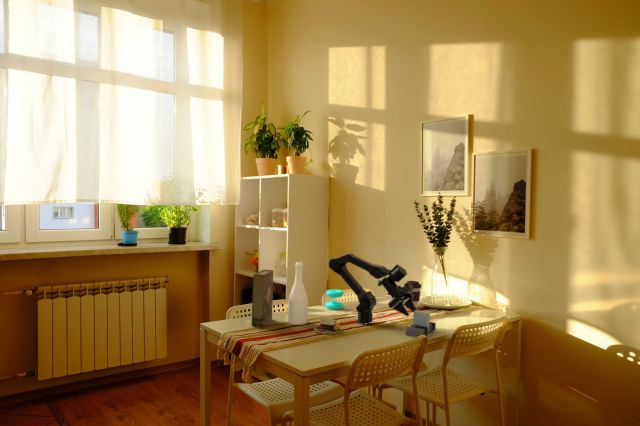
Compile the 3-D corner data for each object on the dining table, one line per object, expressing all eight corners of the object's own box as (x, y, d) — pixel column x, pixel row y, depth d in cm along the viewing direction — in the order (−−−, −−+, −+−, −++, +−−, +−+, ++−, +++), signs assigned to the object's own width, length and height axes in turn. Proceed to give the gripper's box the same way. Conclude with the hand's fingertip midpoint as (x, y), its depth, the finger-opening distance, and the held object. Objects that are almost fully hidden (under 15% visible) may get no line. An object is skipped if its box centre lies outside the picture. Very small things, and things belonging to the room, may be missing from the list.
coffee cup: (415, 309, 290) (416, 283, 290) (400, 307, 296) (401, 281, 296) (423, 307, 298) (424, 281, 298) (408, 304, 304) (409, 279, 304)
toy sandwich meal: (310, 333, 234) (310, 323, 234) (319, 326, 247) (319, 317, 247) (336, 336, 231) (337, 326, 230) (344, 329, 243) (344, 319, 243)
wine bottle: (304, 326, 247) (306, 264, 246) (285, 324, 248) (287, 263, 248) (308, 321, 256) (310, 262, 255) (290, 320, 258) (292, 261, 257)
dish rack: (405, 335, 236) (405, 326, 236) (418, 327, 249) (418, 319, 249) (423, 338, 231) (424, 329, 231) (436, 331, 245) (436, 322, 245)
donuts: (345, 289, 291) (341, 292, 282) (345, 307, 292) (340, 310, 282) (328, 288, 294) (324, 291, 285) (328, 305, 294) (323, 309, 285)
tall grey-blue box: (412, 330, 241) (413, 311, 240) (415, 329, 243) (416, 310, 243) (427, 332, 237) (427, 313, 237) (429, 331, 240) (430, 312, 239)
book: (262, 318, 259) (263, 269, 259) (272, 319, 258) (274, 270, 257) (251, 326, 243) (253, 274, 242) (262, 327, 242) (264, 274, 241)
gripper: (395, 280, 237) (416, 307, 231) (410, 275, 253) (431, 300, 247) (379, 294, 241) (399, 321, 236) (395, 289, 257) (415, 314, 252)
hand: (412, 314), depth 242 cm, fingers open, 9 cm apart
